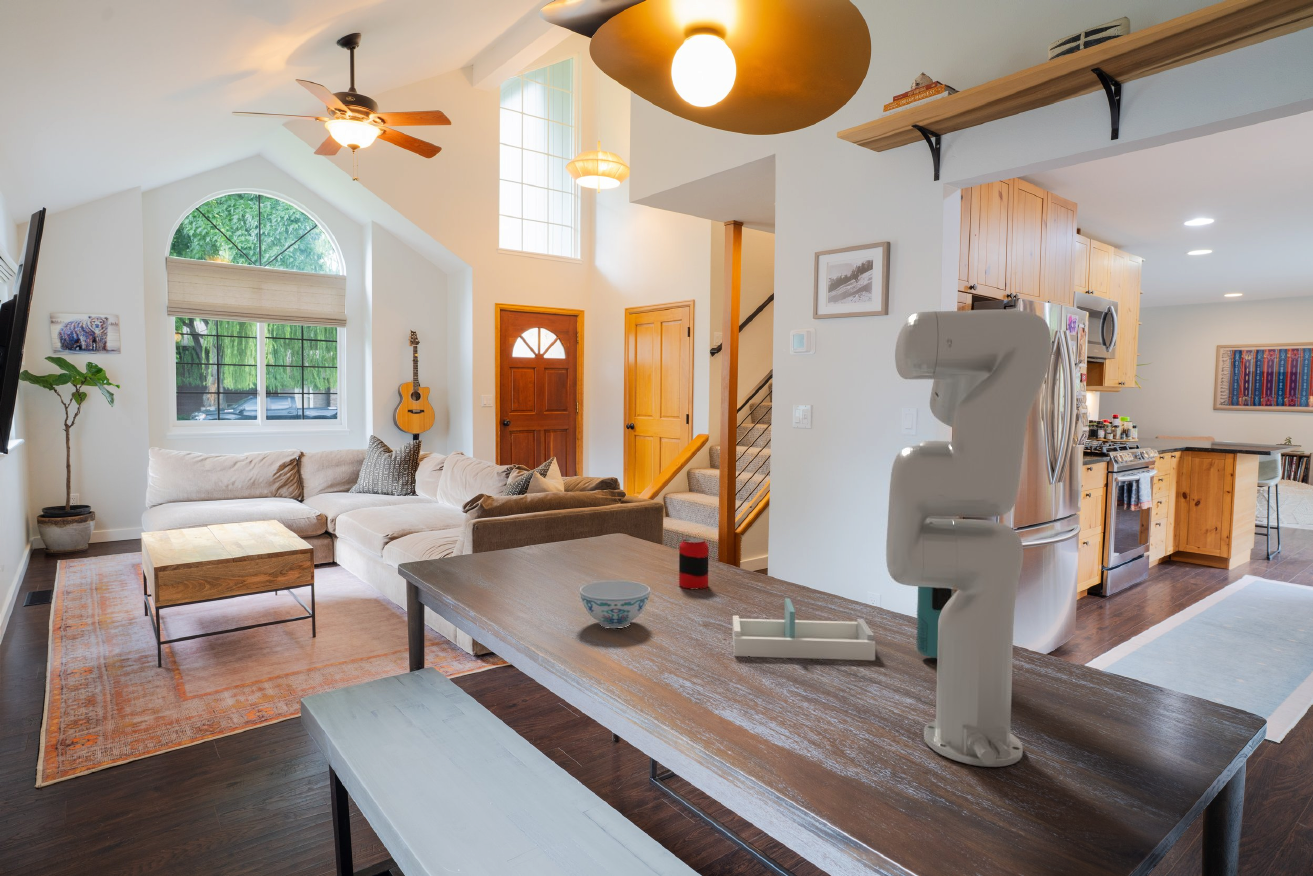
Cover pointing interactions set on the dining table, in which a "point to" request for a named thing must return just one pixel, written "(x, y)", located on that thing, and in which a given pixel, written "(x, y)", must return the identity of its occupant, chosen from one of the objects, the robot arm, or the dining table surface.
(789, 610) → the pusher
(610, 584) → the chinaware
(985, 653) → the robot arm
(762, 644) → the white divided tray
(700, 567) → the soda can
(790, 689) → the dining table surface
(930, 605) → the beverage bottle
